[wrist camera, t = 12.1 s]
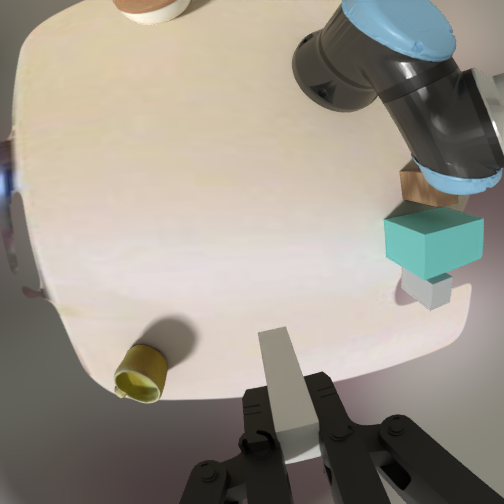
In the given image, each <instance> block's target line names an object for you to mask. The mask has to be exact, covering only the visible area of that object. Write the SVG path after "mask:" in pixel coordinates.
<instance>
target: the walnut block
mask: <svg viewBox="0 0 504 504" xmlns="http://www.w3.org/2000/svg"><path fill="white" fill-rule="evenodd" d="M400 178H401V187H402V196H403V199H405V200H409V201H414V202H418V203H423V204H427V205H431V206H435V207H441V206H446V205H451V204H455V203H458V195H453V194H448V193H444V192H441V191H439V190H437V189H435V188H434V187H433V186H432V185H430V184H429V183H428V182H427V181H426V179H425V178H424V176H423V174H422V172H421V170H420V169H416V170H408V171H400Z"/></svg>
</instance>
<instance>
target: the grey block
mask: <svg viewBox="0 0 504 504" xmlns="http://www.w3.org/2000/svg"><path fill="white" fill-rule="evenodd" d="M452 278H453V277H452V276H450V275H449V274H447V273H443V274H441V275H438V276H435V277H433V278H430V279H427V280H422V279H421V278H419V277H418V276H416V275H415V274H413V273H411V272H410V271H408V270H407V269H405V268H403V267H402V286H401V288H402V289H403V290H404V291H406V292H407V293H408V294H410V295H411V296H412V297H413V298H415V299H416V300H417V301H418V302H420V303H421V304H422V305H424V306H425V307H426V308H427V309H429V310H430V311H431V310H433V309H435V308H438V307H440V306H442V305H444V304H447V303H449V302H450V296H451V288H452Z"/></svg>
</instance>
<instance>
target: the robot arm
mask: <svg viewBox="0 0 504 504" xmlns="http://www.w3.org/2000/svg"><path fill="white" fill-rule="evenodd" d="M452 33H453V30H452V28H451V26H450V24H449V22H448V21H447V19H446V18H445V16H444V15H443V14H442V13H441V11H440V10H439V9H438V8H437V7H436V6H435V5H434V4H433V3H432V2H431V1H429V0H342V3H341V4H340V6H339V7H338V9H337V10H336V11H335V13H334V14H333V16H332V17H331V18H330V20H329V21H328V23H327V24H326V26H325V27H324V28H323V29H321V30H318V31H316V32H313V33H311V34H309V35H308V36H306V37H305V38H304V39H303V40H302V41H301V42H300V43H299V45H298V47H297V48H296V50H295V52H294V55H293V59H292V68H293V73H294V76H295V79H296V81H297V83H298V85H299V86H300V88H301V89H302V90H303V92H304V93H305V94H306V95H307V96H308V97H309V98H310V99H312V100H313V101H314V102H316V103H317V104H319V105H321V106H322V107H325V108H327V109H330V110H333V111H337V112H353V111H357V110H359V109H362V108H364V107H366V106H368V105H369V104H371V103H372V102H373V101H374V100H375V99H376V98H377V96H379V97H380V99H381V100H382V102H383V104H384V105H385V107H386V109H387V110H388V112H389V114H390V115H391V117H392V119H393V120H394V122H395V124H396V125H397V127H398V129H399V131H400V133H401V134H402V136H403V138H404V140H405V142H406V144H407V145H408V147H409V149H410V151H411V156H412V158H413V160H414V161H415V163H416V164H417V165H418V166H419V168H420V170H421V172H422V174H423V176H424V178H425V179H426V181H427V182H428V183H429V184H430V185H432V186H433V187H434V188H435V189H437V190H439V191H441V192H444V193H448V194H453V195H470V194H475V193H479V192H483V191H485V190H486V187H493V186H494V185H496V184H497V183H498V181H499V180H500V178H501V176H502V170H503V168H504V73H501V74H498V75H495V76H489V75H487V74H485V73H483V72H481V71H479V70H477V69H475V68H471V69H469V70H466V71H463V72H461V71H460V69H459V68H458V66H457V64H456V62H455V61H454V59H453V58H452V55H453V53H454V51H455V49H456V39H455V37H454V36H453V35H452ZM258 336H259V342H260V348H261V354H262V359H263V365H264V371H265V376H266V382H267V386H263V387H258V388H253V389H247V390H246V391H245V394H244V396H243V398H242V401H243V415H244V429H245V433H244V434H243V435H242V436H241V438H240V439H239V443H238V445H239V447H240V449H241V453H240V454H239V455H237V456H236V457H234V458H232V459H229V460H227V461H224V462H221V463H220V462H217V461H214V460H207V461H203V462H200V463H199V464H197V465H196V466H195V467H194V468H193V470H192V472H191V474H190V477H189V479H188V482H187V485H186V487H185V490H184V492H183V495H182V498H181V500H180V503H179V504H242V503H243V499H246V498H247V500H248V504H294V501H293V496H292V492H291V486H290V482H289V477H288V473H287V470H286V464H288V463H293V462H298V461H302V460H306V459H310V458H314V457H318V456H321V455H322V458H323V463H324V473H326V476H327V480H328V483H329V486H330V489H331V493H332V496H333V499H334V503H335V504H391V503H390V500H389V498H388V496H387V493H386V491H385V489H384V487H383V484H382V482H381V479H380V477H379V475H378V473H377V471H378V472H379V473H380V474H381V475H382V477H383V478H384V479H385V480H386V481H387V482H388V483H389V485H391V487H392V488H393V489H394V490H395V491H396V492H397V493H398V494H399V496H401V498H402V499H403V500H404V501H405V502H406V503H407V504H504V498H502V497H501V496H500V495H499V494H498V493H496V492H495V491H494V490H493V489H492V488H490V487H489V486H488V485H487V484H485V483H484V482H483V481H482V480H481V479H479V478H478V477H477V476H476V475H475V474H473V473H472V472H471V471H470V470H469V469H468V468H466V467H465V466H464V465H463V464H462V463H461V462H459V461H458V460H457V459H456V458H455V457H454V456H452V455H451V454H450V453H449V452H448V451H447V450H445V449H444V448H443V447H442V446H441V445H440V444H439V443H437V442H436V441H435V440H434V439H433V438H432V437H430V436H429V435H428V434H427V433H426V432H425V431H423V430H422V429H421V428H420V427H419V426H418V425H417V424H416V423H414V422H413V421H412V420H411V419H410V418H408V417H407V416H405V415H399V414H398V415H392V416H390V417H387V418H386V419H385V420H384V421H383V422H382V423H381V424H377V425H359V424H356V423H354V422H352V421H351V420H350V418H349V417H348V415H347V413H346V411H345V408H344V406H343V404H342V402H341V400H340V398H339V395H338V394H337V391H336V389H335V387H334V384H333V382H332V380H331V378H330V377H329V376H328V375H326V374H325V373H324V372H323V371H322V372H319V373H315V374H312V375H308V376H304V377H303V374H302V372H301V369H300V366H299V363H298V360H297V357H296V354H295V351H294V349H293V346H292V343H291V340H290V337H289V334H288V331H287V329H286V326H285V327H281V328H277V329H272V330H268V331H263V332H259V333H258Z"/></svg>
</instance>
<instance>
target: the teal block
mask: <svg viewBox="0 0 504 504" xmlns="http://www.w3.org/2000/svg"><path fill="white" fill-rule="evenodd" d="M384 228H385V244H386V257H387V258H389V259H390V260H392V261H394V262H395V263H397V264H399V265H400V266H402V267H403V268H405V269H407V270H408V271H410V272H411V273H413V274H415V275H416V276H418V277H419V278H421V279H422V280H427V279H430V278H433V277H435V276H438V275H441V274H443V273H446V272H448V271H451V270H453V269H456V268H458V267H461V266H463V265H465V264H468V263H471V262H473V261H475V260H478V259H480V258H482V251H483V250H482V249H483V233H484V218H481V217H477V216H474V215H470V214H467V213H463V212H459V211H455V210H451V209H447V208H443V207H440V208H435V209H431V210H426V211H421V212H416V213H412V214H407V215H402V216H398V217H393V218H388V219H384Z"/></svg>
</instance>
